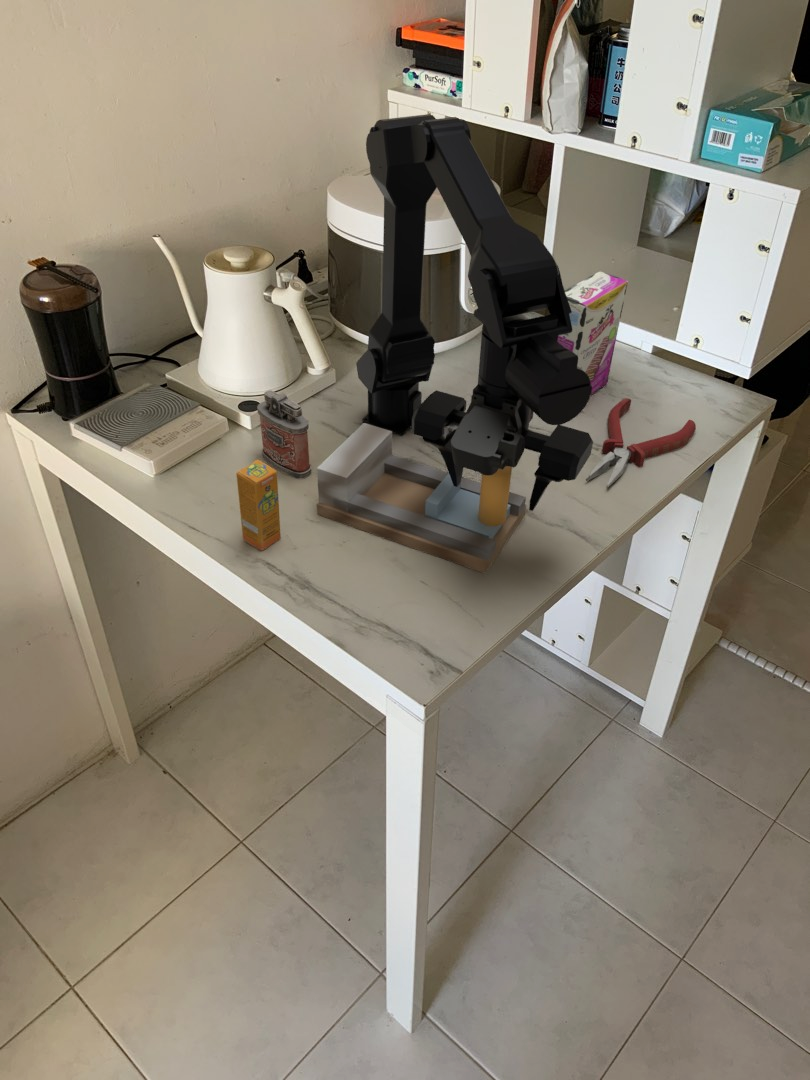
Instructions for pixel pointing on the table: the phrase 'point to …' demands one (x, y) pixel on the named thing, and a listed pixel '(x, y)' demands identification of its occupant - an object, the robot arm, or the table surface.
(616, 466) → the pliers
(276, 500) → the supplement box
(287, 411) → the lighter
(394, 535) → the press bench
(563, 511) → the table surface
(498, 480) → the press jaw
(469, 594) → the table surface
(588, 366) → the candy bar box
